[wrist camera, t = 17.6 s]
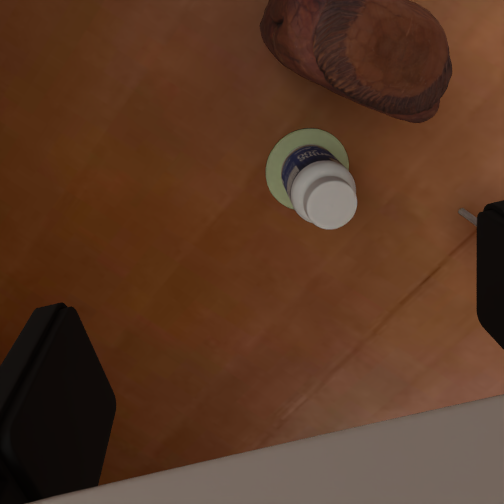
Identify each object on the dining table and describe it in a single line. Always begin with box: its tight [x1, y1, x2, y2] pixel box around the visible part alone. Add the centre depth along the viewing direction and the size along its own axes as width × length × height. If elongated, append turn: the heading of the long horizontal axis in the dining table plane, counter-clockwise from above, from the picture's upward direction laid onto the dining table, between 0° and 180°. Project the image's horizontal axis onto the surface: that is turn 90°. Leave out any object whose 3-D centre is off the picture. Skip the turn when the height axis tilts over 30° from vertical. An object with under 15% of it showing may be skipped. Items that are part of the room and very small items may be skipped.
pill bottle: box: [281, 144, 357, 229], centre depth 40 cm, size 5×5×10 cm
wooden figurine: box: [260, 0, 452, 123], centre depth 32 cm, size 12×6×18 cm, turn 67°
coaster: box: [266, 128, 349, 209], centre depth 45 cm, size 8×8×1 cm
